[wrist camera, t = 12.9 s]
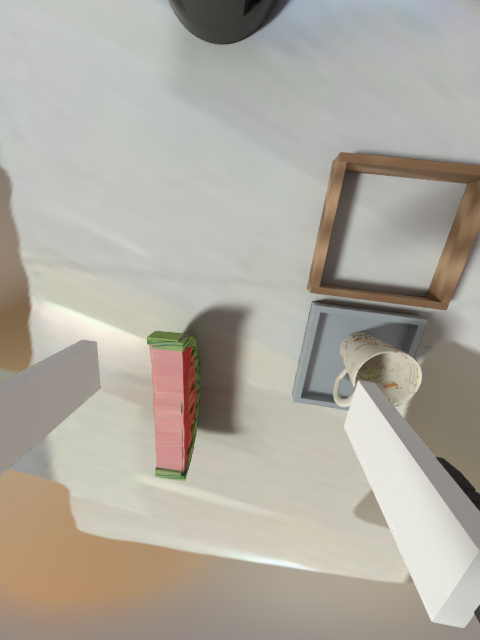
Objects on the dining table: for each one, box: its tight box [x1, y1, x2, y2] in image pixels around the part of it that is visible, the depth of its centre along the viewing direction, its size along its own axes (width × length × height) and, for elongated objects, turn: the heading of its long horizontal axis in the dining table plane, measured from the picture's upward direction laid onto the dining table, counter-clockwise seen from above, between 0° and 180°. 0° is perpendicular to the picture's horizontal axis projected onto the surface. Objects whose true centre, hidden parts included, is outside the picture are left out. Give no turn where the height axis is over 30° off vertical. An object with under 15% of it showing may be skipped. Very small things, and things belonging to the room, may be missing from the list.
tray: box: [292, 302, 428, 410], centre depth 40 cm, size 18×17×2 cm
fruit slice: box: [147, 331, 200, 481], centre depth 41 cm, size 26×6×10 cm, turn 176°
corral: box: [307, 152, 480, 310], centre depth 33 cm, size 18×20×4 cm
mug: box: [333, 332, 422, 407], centre depth 36 cm, size 8×13×10 cm, turn 151°
